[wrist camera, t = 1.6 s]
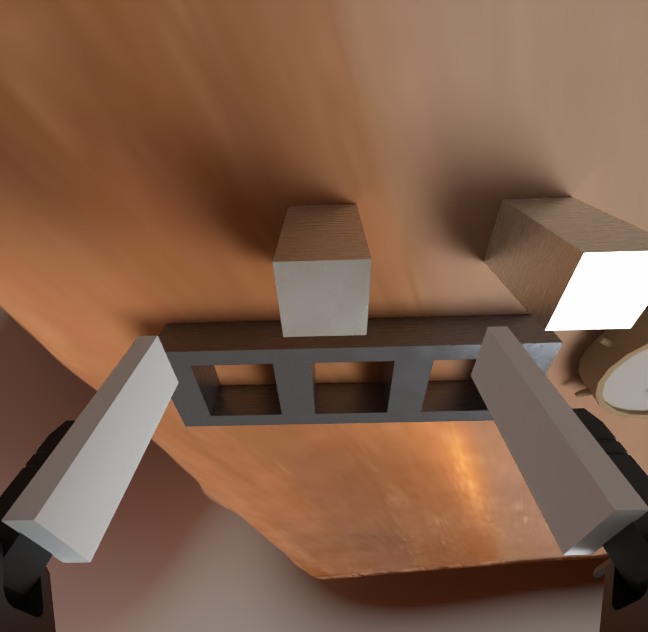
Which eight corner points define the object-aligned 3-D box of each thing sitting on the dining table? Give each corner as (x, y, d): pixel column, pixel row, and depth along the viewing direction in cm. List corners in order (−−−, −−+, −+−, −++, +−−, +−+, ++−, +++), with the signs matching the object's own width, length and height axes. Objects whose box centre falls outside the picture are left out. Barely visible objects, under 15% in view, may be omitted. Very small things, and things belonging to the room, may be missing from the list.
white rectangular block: (502, 199, 20) (584, 253, 14) (572, 197, 20) (686, 249, 14) (483, 261, 23) (544, 330, 17) (545, 259, 23) (630, 328, 17)
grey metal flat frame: (166, 323, 27) (148, 352, 24) (537, 314, 26) (562, 342, 23) (197, 396, 32) (185, 426, 29) (501, 389, 32) (519, 419, 29)
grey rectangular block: (288, 206, 21) (272, 262, 14) (356, 203, 21) (371, 259, 14) (294, 267, 23) (283, 336, 17) (354, 265, 23) (366, 334, 17)
